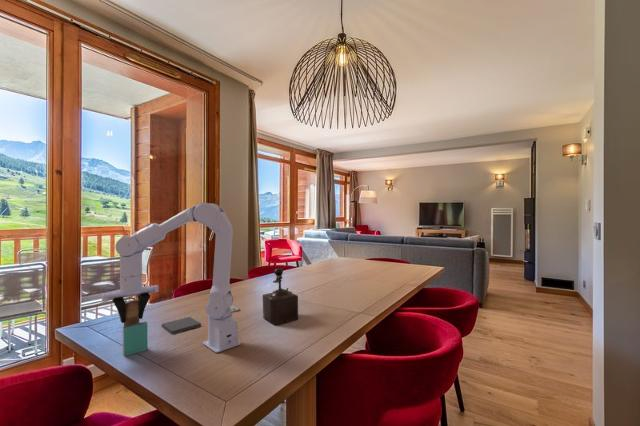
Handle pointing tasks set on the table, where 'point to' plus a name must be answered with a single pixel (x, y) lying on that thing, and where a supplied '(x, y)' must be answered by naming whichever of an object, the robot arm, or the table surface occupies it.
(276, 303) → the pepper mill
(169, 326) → the mat
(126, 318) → the peg
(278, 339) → the table surface
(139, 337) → the tile
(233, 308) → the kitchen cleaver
